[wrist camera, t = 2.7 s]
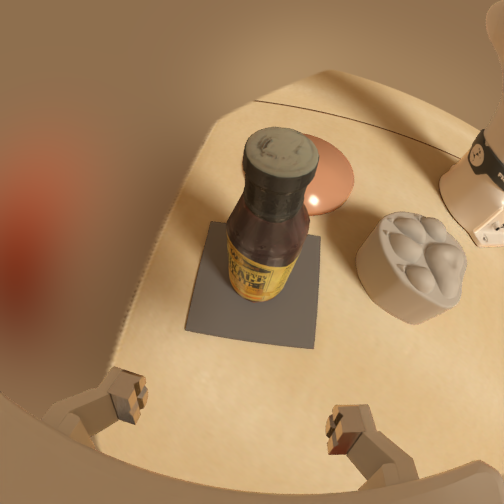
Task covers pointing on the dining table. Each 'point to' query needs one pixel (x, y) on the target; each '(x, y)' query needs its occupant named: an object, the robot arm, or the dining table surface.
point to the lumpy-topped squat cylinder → (412, 267)
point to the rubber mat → (259, 313)
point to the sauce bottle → (270, 212)
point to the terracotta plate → (328, 180)
